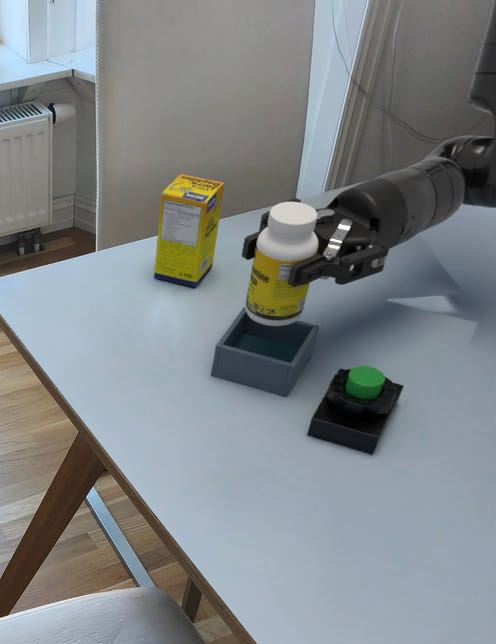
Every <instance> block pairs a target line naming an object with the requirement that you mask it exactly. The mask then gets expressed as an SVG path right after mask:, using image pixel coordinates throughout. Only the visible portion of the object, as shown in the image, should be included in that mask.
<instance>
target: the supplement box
mask: <svg viewBox="0 0 496 644" xmlns="http://www.w3.org/2000/svg"><path fill="white" fill-rule="evenodd" d="M224 187H225V182H222V181H217V180H212V179H206V178H202V177H198V176H192V175H187V174H183V173H180V174H179V175H178V176H176V178H174V180H173V181H172V182H171V183H170V184H169V185H168V186H167V187H166V188H165V189H164V190H163V191H162V193H161V196H160V205H159V206H160V208H159V219H158V227H157V238H156V249H155V260H154V261H155V262H154V274H153V279H159V280H163V281H166V282H171V283H175V284H179V285H184V286H187V287H192V288H197V287H198V286H199V284H200V283H201V281H202V280H203V279H204V278H205V276H207V274H208V273H209V272H210V270H211V269H212V268H213V264H214V258H215V250H216V244H217V237H218V231H219V224H220V218H221V217H220V216H221V210H222V203H223V197H224V189H225V188H224Z"/></svg>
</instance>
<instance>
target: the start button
mask: <svg viewBox="0 0 496 644" xmlns="http://www.w3.org/2000/svg"><path fill="white" fill-rule="evenodd" d="M351 369H352V370H351V371H350V372H349V375H348V378H347V381H346V385H345V391H346V392H347V393H348V394H350V395H351V396H353V397H357V398H361V399H375V398H377V397H378V396H379V395H380V393H381V390H382V387H383V384H384V381H385V377H386V376H385V374H384V373H383V372H382V371H381V370H380V369H378V368H375V367H372V366H368V365H367V366H366V365H360V366H355V367H352V368H351Z"/></svg>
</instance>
